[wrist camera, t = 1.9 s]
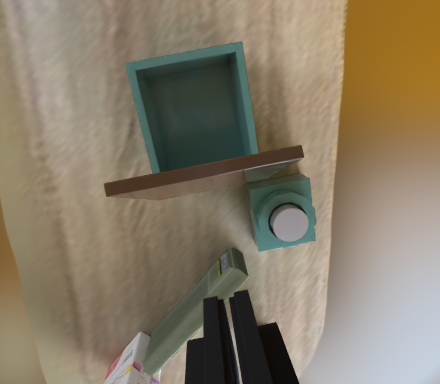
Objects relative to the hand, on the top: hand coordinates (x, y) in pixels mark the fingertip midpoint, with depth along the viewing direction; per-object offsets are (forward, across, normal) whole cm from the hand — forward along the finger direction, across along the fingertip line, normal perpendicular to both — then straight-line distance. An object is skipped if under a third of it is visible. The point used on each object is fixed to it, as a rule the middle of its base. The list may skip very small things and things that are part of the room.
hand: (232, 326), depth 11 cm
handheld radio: (+29, +8, +20) cm, 36 cm away
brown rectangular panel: (+14, 0, -3) cm, 14 cm away
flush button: (+24, -9, +7) cm, 27 cm away
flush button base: (+29, -9, +7) cm, 31 cm away
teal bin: (+29, 0, -7) cm, 30 cm away
